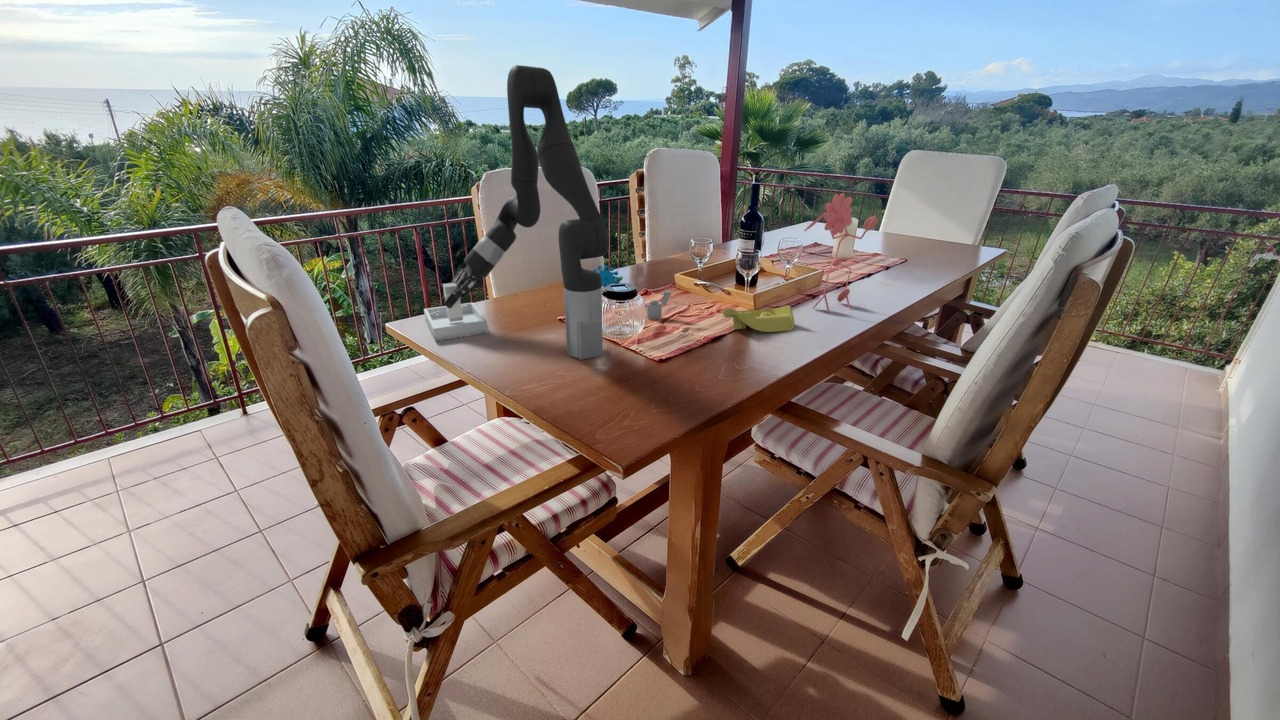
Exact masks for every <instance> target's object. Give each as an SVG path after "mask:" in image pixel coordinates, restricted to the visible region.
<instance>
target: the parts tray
mask: <svg viewBox="0 0 1280 720" xmlns="http://www.w3.org/2000/svg"><path fill="white" fill-rule="evenodd" d="M464 305H467V306H464ZM461 306H463V307H461V309H462V316H463V320H460V321H453V322H449V320H448V318H447V311H446V306H445V305H443V306H436V307H428V308H423V312H424V317H425V318H424V319H425V320H424V321H425V322H426V324H428V325H427V326H428V328H429V331H430V333H431V335H432V338H433V339H435V340H434V342H438V341H437V340H439V341H445V340H444V339H446V340H451V338H452V339H457V337H459V338H464V337H463V336H465V337H469V336H470V335H471V336H477V335H476V334H478V335H482V334H483V333H484V334H488V333H489V330H488V329H489V328H488V321H487V318H485V317H484V315H483V314H482V313H481V311H480V310H479V309H478V307H477V306H476V304H475V303H474V302H465V303H461ZM437 311H439V312H437ZM433 312H435V313H433ZM431 313H433V314H431ZM436 314H438V315H436Z"/></svg>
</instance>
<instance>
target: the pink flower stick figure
mask: <svg viewBox="0 0 1280 720" xmlns="http://www.w3.org/2000/svg"><path fill="white" fill-rule="evenodd" d="M845 195H846V193H844V192H843V193H840V194H838V193H835V194H834V195H833V198H832V202H827V203H826V204H825V211H826V212H824V213H822V214H821V215H819V217H816V219H815V220H813V221H812V222H811V223H810V224H809V225H808V226H807V227H806V228H805V229H804V230H803V231H804V232H806V231H808V230H810V229H811V228H812V227H813V226H815V225H816V223H818V222H819V221H821V220H822V218H823V219H824V221H825V222H826V223H825V224H824V230H825V231H829V232H830V234H831V237H832V240H835V239H839V238H840V239H839V240H838V244H837V248H836V252H835V253H836V254H835V256H834V258H833V259H832V260H831V264H830V268H829V269H828V272H827V275H826V280H825V285H824V291H823V294H822V297H817V299H818V301H817V302H816V303H815V304H814V306H813V307H812V309H815V308H816V307H817V305H818V304H820V302H822V301H823V299H824V302H825V305H826V306H825V307H826V311H827V313H830V307H829V303H828V299H827V294H828V291H826V289H827V285H828V279H829V274H830V273H831V269H832V268H833V267H839V266H842V267H843V268H844V267H845V268H847V269H848V270H849V272H848V275H847V281H846V285H845V287H844V289H843V290H842V291H841V292H840V293H839V294H838V295H837V298H836V300H837V302H838V303H841V302H842V301H844V300H845V299H846V302H847V308H848V309H851V305H850V301H849V295H850V293H851V290H850V289H849V288H848V283H849V279H850V275H851V273H852V268H851V267H849V266H847V265H845V264H842V259H841V258H839V257H837V256H838V253H839V249H840V245H841V243H842V241H843V240H844V239H845V238H847V237H850V238H851V237H852V238H854V239H858V240H862V239H863V238H864V236H865V235H866V233H867V232H869V231H870V230H872V229H874V228H875V227H877V225H878V222H879V220H878V217H877V216H876V215H873V216H871V217H868V218H867V219H866V220H865V221H864V223H863V228H864V231H863V233H862V235H861V236H857V235H853V234H850V233H849V232H848V228H847V226H850V225H851V224H853V223H852V222H853V218H852V213H853V208H852V207H851V205H852V203H853V197H851V196H848V197H846V196H845ZM845 197H846V198H845ZM843 232H845V233H843ZM838 233H839V234H840V235H837V234H838ZM842 233H843V234H842ZM836 235H837V236H836ZM809 299H811V297H810V298H809V297H808V298H806V300H809ZM796 304H797V303H795V307H796V306H797V305H796ZM861 305H863V306H866V305H865V304H863V303H861Z"/></svg>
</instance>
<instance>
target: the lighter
mask: <svg viewBox="0 0 1280 720" xmlns="http://www.w3.org/2000/svg"><path fill="white" fill-rule="evenodd" d="M671 295H672V292H671V291H669V290H666V289H665V291H664V293H663V294H662V297H661V299H660V301H659V302H658V300H657V299H654V300H653V299H652V300H651V301H649V303H646V318H647V319H648V320H652V319H661V318H662V305H663V306H667V304H668V301H669V299H670V297H671Z"/></svg>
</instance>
